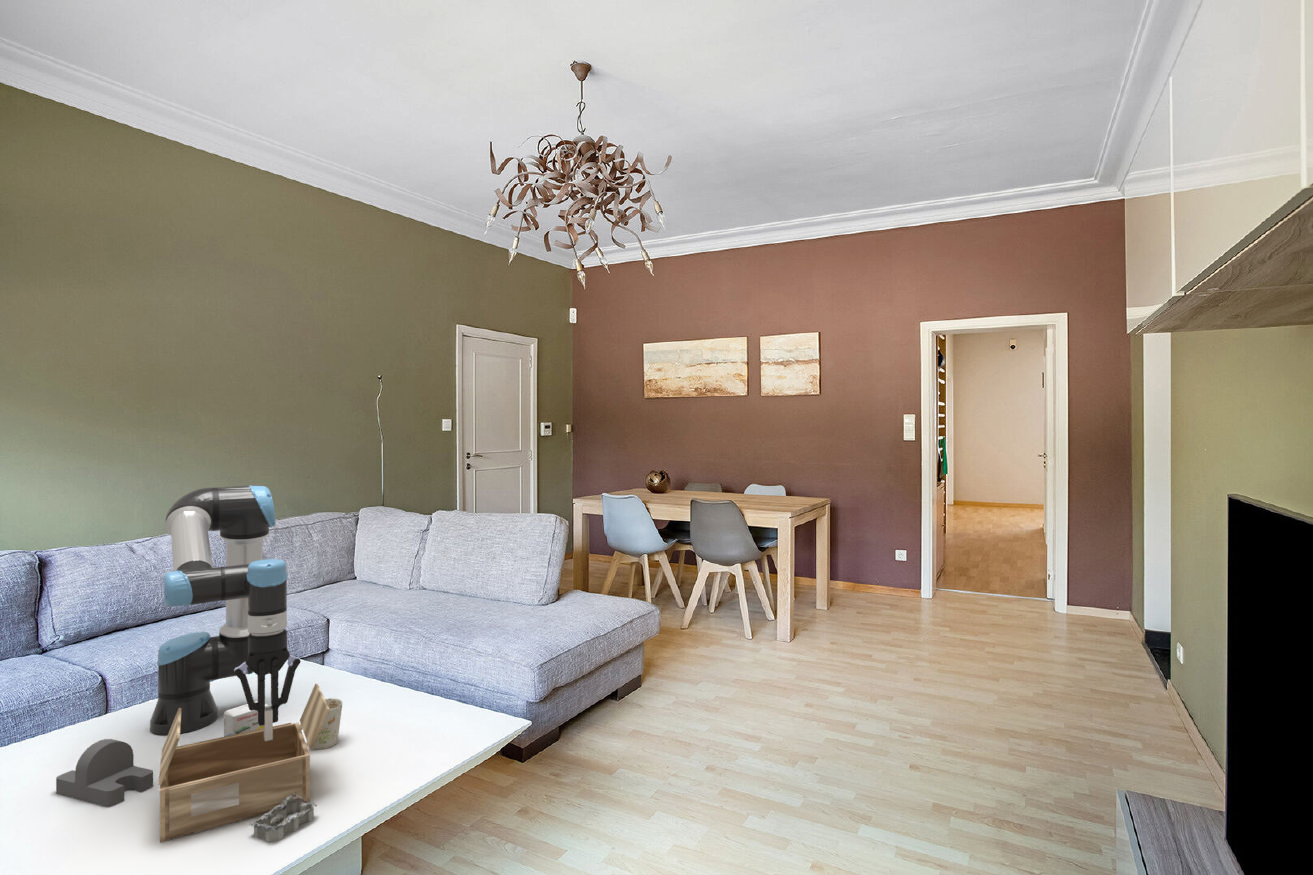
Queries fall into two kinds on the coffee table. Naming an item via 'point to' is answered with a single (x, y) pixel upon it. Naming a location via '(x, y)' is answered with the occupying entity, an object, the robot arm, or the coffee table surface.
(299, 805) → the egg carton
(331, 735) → the mug
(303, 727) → the flap
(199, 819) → the light wood open box
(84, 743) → the coffee table surface
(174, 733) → the flap
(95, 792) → the bracket
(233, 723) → the ink box
